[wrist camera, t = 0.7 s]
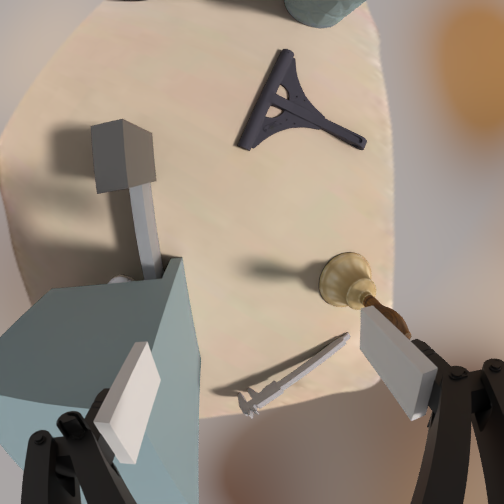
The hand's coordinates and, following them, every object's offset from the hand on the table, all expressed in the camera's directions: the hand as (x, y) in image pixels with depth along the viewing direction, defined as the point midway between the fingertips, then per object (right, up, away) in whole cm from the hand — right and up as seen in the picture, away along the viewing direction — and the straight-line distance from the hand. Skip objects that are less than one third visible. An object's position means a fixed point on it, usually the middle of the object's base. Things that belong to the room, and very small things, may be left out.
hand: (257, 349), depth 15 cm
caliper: (+6, -13, +29) cm, 33 cm away
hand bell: (+13, +1, +26) cm, 29 cm away
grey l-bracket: (-13, +10, +20) cm, 26 cm away
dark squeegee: (+7, +22, +20) cm, 30 cm away
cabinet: (-16, -4, +23) cm, 29 cm away
